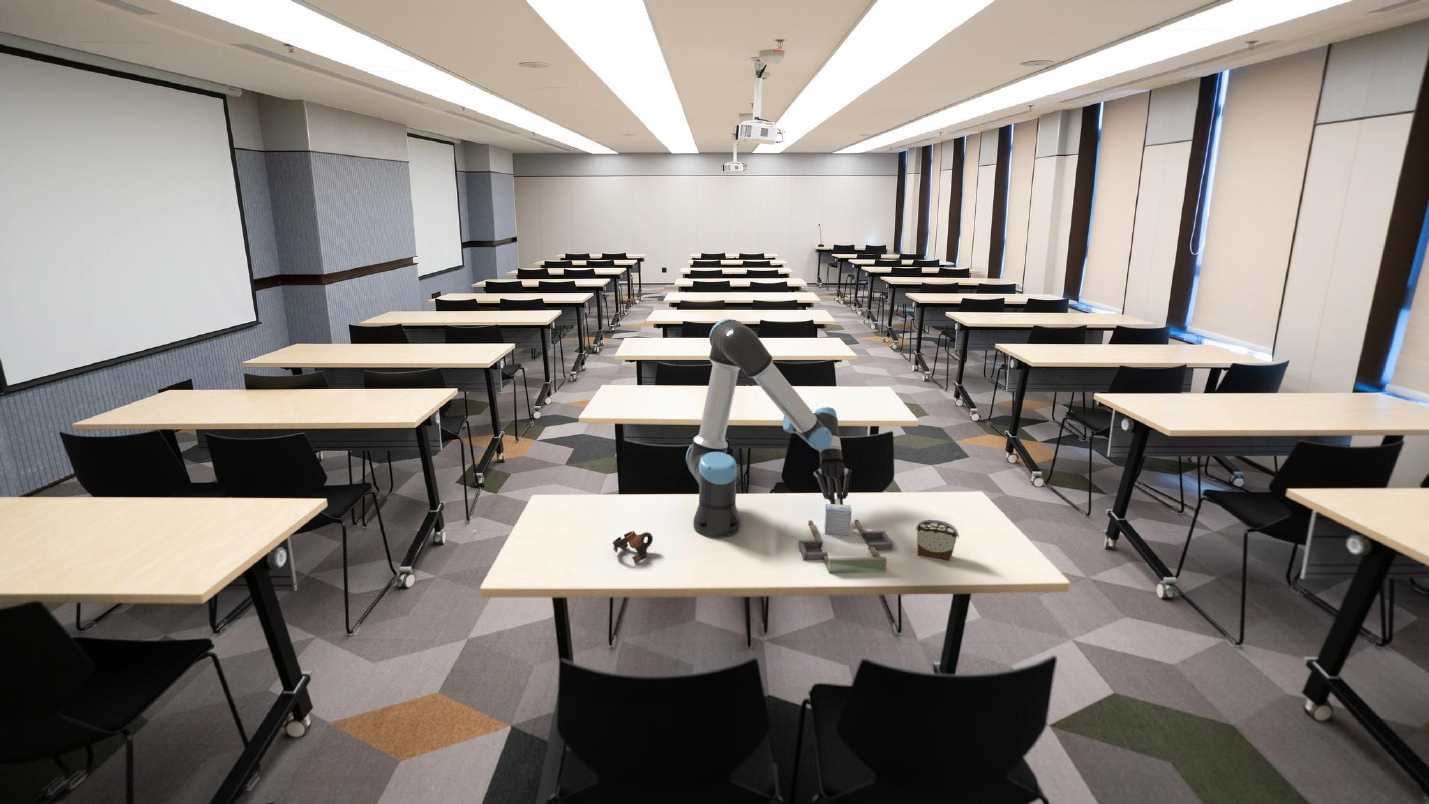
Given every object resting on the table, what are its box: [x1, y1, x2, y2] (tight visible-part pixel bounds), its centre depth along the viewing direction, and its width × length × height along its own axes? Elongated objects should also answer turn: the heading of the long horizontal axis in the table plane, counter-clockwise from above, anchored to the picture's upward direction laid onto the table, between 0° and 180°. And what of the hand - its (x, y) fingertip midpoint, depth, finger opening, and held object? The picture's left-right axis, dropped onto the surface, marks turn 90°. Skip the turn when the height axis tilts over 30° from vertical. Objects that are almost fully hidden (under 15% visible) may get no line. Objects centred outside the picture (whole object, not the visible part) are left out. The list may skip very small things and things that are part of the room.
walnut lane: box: [808, 519, 888, 574], centre depth 207 cm, size 29×16×4 cm, turn 4°
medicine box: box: [823, 503, 853, 536], centre depth 215 cm, size 8×4×9 cm, turn 84°
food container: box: [914, 519, 960, 563], centre depth 202 cm, size 12×6×10 cm, turn 71°
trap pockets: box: [797, 530, 894, 561], centre depth 206 cm, size 13×28×2 cm, turn 94°
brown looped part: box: [612, 530, 654, 564], centre depth 201 cm, size 12×10×8 cm
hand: (838, 519), depth 219 cm, fingers closed
